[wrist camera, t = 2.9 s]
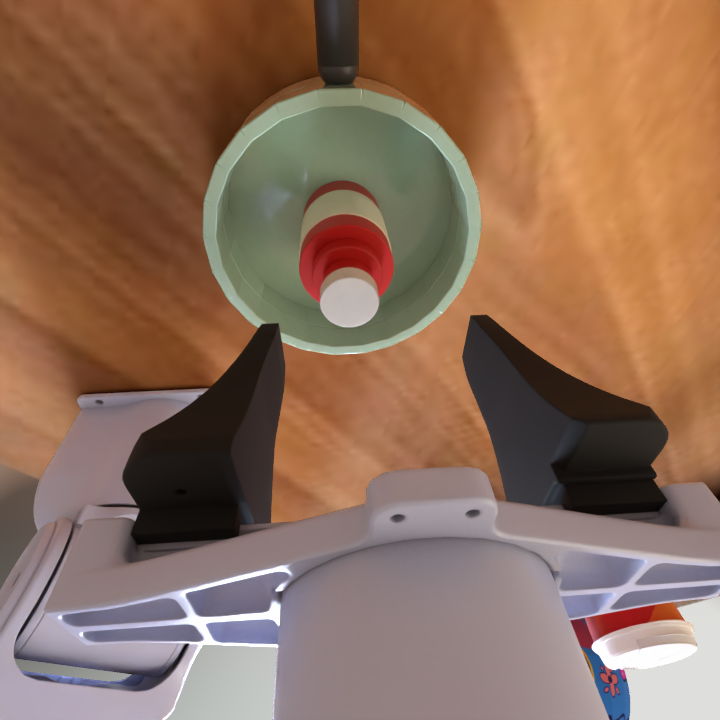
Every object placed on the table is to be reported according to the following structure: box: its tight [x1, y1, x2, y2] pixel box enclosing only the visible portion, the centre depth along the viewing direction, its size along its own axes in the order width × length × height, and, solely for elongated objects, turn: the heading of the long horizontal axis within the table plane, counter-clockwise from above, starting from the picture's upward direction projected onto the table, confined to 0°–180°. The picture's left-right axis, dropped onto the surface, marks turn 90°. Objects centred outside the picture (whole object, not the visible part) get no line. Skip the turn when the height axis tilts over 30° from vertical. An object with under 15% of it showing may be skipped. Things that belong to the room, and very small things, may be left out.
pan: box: [202, 76, 482, 355], centre depth 21 cm, size 13×13×4 cm
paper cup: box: [585, 602, 697, 670], centre depth 38 cm, size 8×8×14 cm
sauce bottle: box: [299, 181, 394, 327], centre depth 19 cm, size 4×4×8 cm
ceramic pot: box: [570, 618, 630, 720], centre depth 58 cm, size 18×18×15 cm
